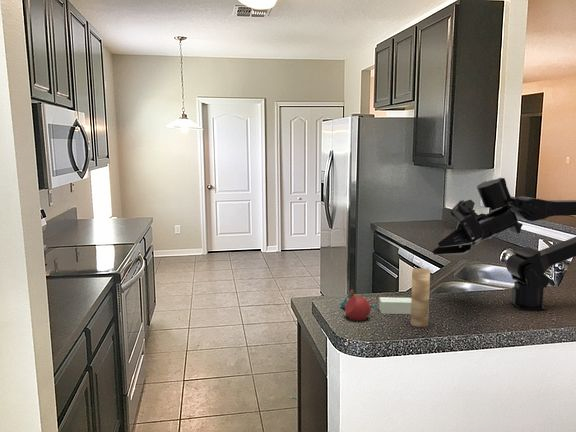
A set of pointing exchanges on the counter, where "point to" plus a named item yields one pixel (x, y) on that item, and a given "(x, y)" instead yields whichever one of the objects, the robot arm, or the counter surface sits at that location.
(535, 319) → the counter surface
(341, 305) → the dragon figurine
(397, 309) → the white block
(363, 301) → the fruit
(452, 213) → the robot arm
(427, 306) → the oak post
